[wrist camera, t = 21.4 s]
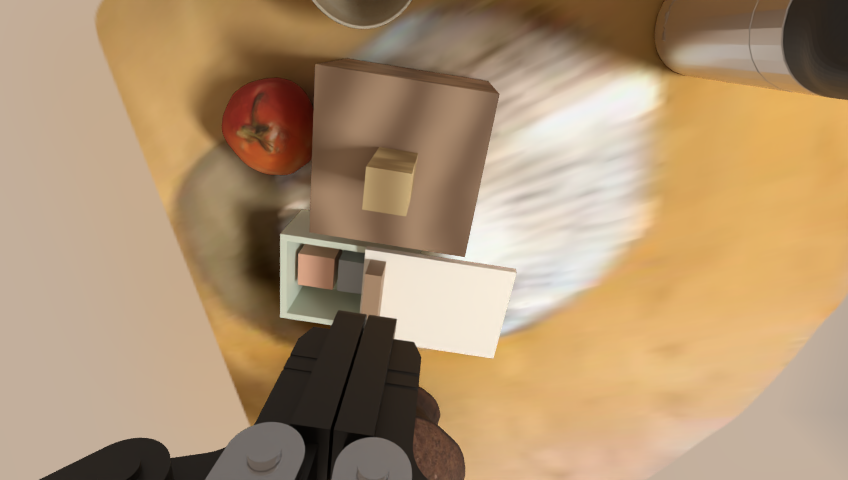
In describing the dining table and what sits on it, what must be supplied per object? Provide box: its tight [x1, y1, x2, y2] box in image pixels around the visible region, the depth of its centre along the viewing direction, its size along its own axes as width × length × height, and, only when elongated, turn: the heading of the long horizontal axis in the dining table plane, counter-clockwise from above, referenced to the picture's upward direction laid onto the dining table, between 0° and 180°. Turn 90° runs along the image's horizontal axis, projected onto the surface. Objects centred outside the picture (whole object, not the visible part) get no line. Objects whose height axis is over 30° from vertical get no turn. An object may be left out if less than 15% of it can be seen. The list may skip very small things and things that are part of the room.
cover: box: [309, 58, 499, 257], centre depth 38 cm, size 14×14×17 cm
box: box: [280, 209, 421, 325], centre depth 49 cm, size 14×10×7 cm
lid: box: [360, 246, 517, 358], centre depth 44 cm, size 15×11×4 cm
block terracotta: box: [298, 244, 342, 290], centre depth 50 cm, size 4×4×4 cm
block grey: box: [337, 250, 365, 294], centre depth 50 cm, size 4×4×4 cm
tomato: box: [222, 78, 314, 175], centre depth 42 cm, size 9×9×8 cm
